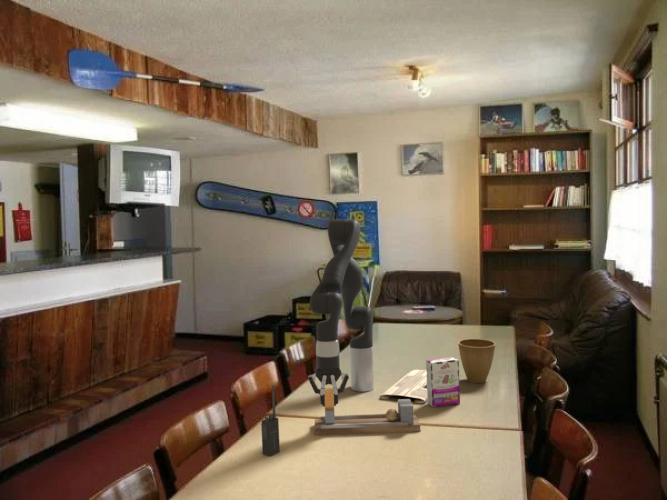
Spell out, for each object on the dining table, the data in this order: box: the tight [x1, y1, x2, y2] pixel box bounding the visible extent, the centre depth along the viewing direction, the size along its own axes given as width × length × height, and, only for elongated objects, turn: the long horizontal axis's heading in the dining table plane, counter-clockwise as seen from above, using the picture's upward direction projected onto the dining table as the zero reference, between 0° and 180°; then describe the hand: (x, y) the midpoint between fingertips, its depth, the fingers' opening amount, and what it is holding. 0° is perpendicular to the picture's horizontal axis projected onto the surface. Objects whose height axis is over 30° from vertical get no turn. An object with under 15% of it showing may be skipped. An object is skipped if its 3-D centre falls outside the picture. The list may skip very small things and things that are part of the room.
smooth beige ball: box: [385, 408, 398, 421], centre depth 189 cm, size 4×4×4 cm
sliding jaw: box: [324, 387, 336, 425], centre depth 188 cm, size 7×3×11 cm, turn 2°
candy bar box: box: [425, 356, 461, 408], centre depth 210 cm, size 11×5×16 cm, turn 105°
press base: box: [314, 398, 421, 436], centre depth 189 cm, size 9×34×8 cm, turn 92°
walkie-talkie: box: [260, 385, 281, 457], centre depth 171 cm, size 5×3×20 cm
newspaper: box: [379, 369, 428, 405], centre depth 232 cm, size 37×19×3 cm, turn 154°
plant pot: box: [457, 338, 496, 384], centre depth 238 cm, size 15×15×16 cm
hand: (329, 405), depth 188 cm, fingers closed on sliding jaw, 3 cm apart
